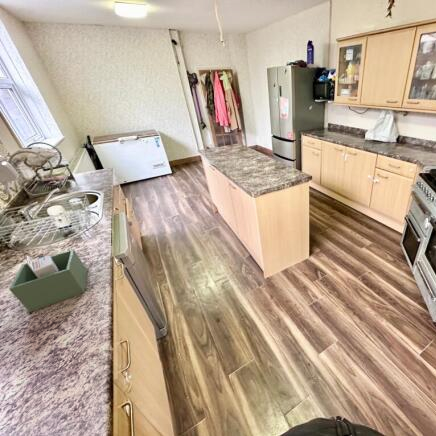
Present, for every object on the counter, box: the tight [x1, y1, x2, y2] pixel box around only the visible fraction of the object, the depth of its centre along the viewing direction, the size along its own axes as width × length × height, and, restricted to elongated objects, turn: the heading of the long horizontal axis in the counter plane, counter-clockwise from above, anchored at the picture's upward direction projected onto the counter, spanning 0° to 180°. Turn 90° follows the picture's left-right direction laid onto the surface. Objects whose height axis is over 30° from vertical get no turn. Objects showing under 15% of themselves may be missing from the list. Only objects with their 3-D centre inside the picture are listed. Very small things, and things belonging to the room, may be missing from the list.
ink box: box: [25, 254, 60, 278], centre depth 83 cm, size 9×5×15 cm, turn 49°
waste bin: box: [9, 248, 88, 313], centre depth 84 cm, size 15×15×11 cm
